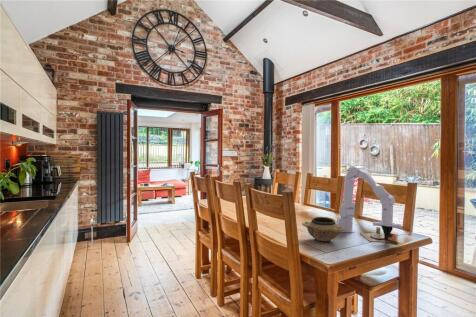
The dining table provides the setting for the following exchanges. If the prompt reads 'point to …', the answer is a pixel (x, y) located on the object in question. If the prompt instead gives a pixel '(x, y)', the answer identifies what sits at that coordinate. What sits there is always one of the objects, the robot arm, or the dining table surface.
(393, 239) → the pink irregular piece
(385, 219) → the robot arm
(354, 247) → the dining table surface
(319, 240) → the ceramic bowl
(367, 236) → the board
